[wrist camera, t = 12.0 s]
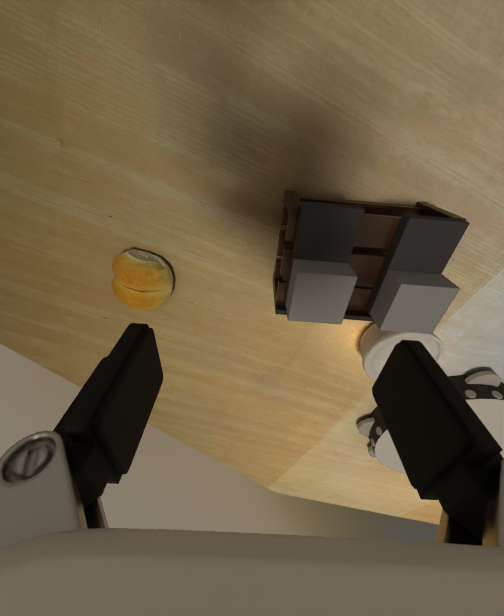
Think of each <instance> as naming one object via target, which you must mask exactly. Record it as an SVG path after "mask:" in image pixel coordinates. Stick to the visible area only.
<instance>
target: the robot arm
mask: <svg viewBox="0 0 504 616" xmlns="http://www.w3.org/2000/svg"><path fill="white" fill-rule="evenodd" d="M162 381H163V372H162V367H161V363H160V358H159V354H158V349H157V345H156V340H155V335H154V331H153V329H152V328H149V326H148V325H147V324H138V323H131V324H129V326H128V327H127V329H126V330H125V332H124V333H123V335H122V336H121V338H120V339H119V341H118V342H117V344H116V345H115V347H114V348H113V350H112V351H111V353H110V354H109V356H108V357H105V358H103V359H102V360H101V361H100V363H99V364H98V366H97V367H96V369H95V370H94V372H93V373H92V374H91V376H90V377H89V379H88V380H87V382H86V383H85V385H84V386H83V388H82V389H81V391H80V392H79V394H78V395H77V397H76V398H75V399H74V401H73V402H72V404H71V405H70V407H69V408H68V410H67V411H66V413H65V414H64V416H63V417H62V419H61V420H60V422H59V423H58V424H57V426H56V427H55V429H54V430H53V432H52V431H42V432H37V433H34V434H31V435H29V436H27V437H25V438H23V439H22V440H20V441H18V442H17V443H15V444H14V445H13V446H12V447H11V448H9V449H8V450H7V451H6V452H5V454H4V455H3V456H2V457H1V458H0V616H504V458H503V456H502V455H501V454H500V452H501V451H502V450H503V449H502V448H501V446H500V445H499V444H498V443H497V441H496V440H495V439H494V437H493V436H492V435H491V433H490V432H489V431H488V429H487V428H486V427H485V425H484V424H483V423H482V421H481V420H480V419H479V417H478V416H477V415H476V413H475V412H474V411H473V410H472V408H471V407H470V406H469V404H468V403H467V402H466V400H465V399H464V398H463V396H462V395H461V394H460V392H459V391H458V390H457V388H456V387H455V386H454V384H453V383H452V382H451V380H450V379H449V378H448V377H447V375H446V374H445V373H444V371H443V370H442V369H441V367H440V366H439V365H438V363H437V362H436V361H435V359H434V358H433V357H432V355H431V354H430V353H429V351H428V350H427V349H426V347H425V346H424V345H423V344H422V343H421V342H420V341H416V340H401V341H400V342H399V343H397V344H396V345H395V346H394V348H393V350H392V352H391V354H390V355H389V357H388V359H387V361H386V363H385V365H384V367H383V369H382V370H381V372H380V374H379V376H378V378H377V380H376V382H375V383H374V385H373V388H372V393H373V396H374V399H375V401H376V403H377V406H378V408H379V411H380V413H381V415H382V418H383V420H384V422H385V425H386V427H387V429H388V432H389V434H390V436H391V439H392V441H393V443H394V446H395V448H396V450H397V453H398V455H399V458H400V460H401V462H402V465H403V467H404V469H405V472H406V474H407V476H408V479H409V481H410V483H411V485H412V486H413V487H414V488H415V489H417V491H418V493H419V496H420V498H421V499H427V500H438V499H439V502H440V504H441V506H442V508H443V509H442V514H441V519H440V524H439V529H438V535H437V539H436V542H417V541H416V542H415V541H398V540H380V539H360V538H340V537H321V536H319V537H318V536H299V535H279V534H259V533H236V532H213V531H190V530H167V529H128V528H127V529H125V528H109V527H108V524H107V520H106V517H105V512H104V509H103V505H102V502H101V498H100V496H101V495H102V493H103V491H104V488H105V487H106V484H107V483H116V484H118V483H119V481H120V479H121V476H122V474H126V473H127V472H128V470H129V468H130V466H131V463H132V461H133V458H134V455H135V453H136V450H137V448H138V445H139V442H140V440H141V437H142V434H143V432H144V429H145V427H146V424H147V421H148V419H149V416H150V414H151V411H152V408H153V406H154V403H155V400H156V398H157V395H158V393H159V390H160V387H161V385H162Z"/></svg>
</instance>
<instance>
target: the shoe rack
mask: <svg viewBox="0 0 504 616" xmlns="http://www.w3.org/2000/svg"><path fill="white" fill-rule="evenodd" d="M283 201H284V207H283V214H282V221H281V225H286V226H287V229H286V231H280V236H279V243H278V250H277V256H282V261H279V260H276V265H275V272H274V274H273V290H274V301H275V313H276V314H283V315H287V311H286V306H285V300H284V298H285V292H286V287H287V281H288V275H289V269H290V264H291V258H292V252H293V247H294V241H295V235H296V229H297V224H298V218H299V212H300V206H301V202H302V201H307V202H319V203H331V204H343V205H354V206H361V207H362V208H363V209H365V212H364V215H363V218H362V221H361V224H360V228H359V231H358V234H357V237H356V240H355V243H354V247H353V250H352V253H351V256H350V259H349V262H348V263H349V265H350V266H351V268H352V269H353V271H354V272H355V274H356V275H357V277H358V278H357V280H356V283H355V286H354V289H353V292H352V295H351V297H350V300H349V303H348V306H347V309H346V312H345V315H344V317H343V319H350V320H364V321H374V320H373V318H372V317H371V315H369V314H368V313H367V311H366V309H365V307H366V304H367V302H368V299H369V297H370V294H371V292H372V289H373V287H374V284H375V282H376V279H377V277H378V274H379V272H380V269H381V267H382V264H383V262H384V259H385V257H386V254H387V252H388V249H389V247H390V244H391V242H392V239H393V237H394V234H395V232H396V229H397V227H398V224H399V222H400V220H401V217H402V215H403V214H410V215H422V216H434V217H446V218H458V219H462V220H464V221H466V219H465V218H462V217H460V216H458V215H455V214H453V213H450V212H448V211H446V210H443V209H441V208H438V207H436V206H434V205H431V204H429V203H426V202H417V204H416V206H415V207H411V206H399V205H387V204H375V203H364V202H352V201H340V200H328V199H316V198H304V197H298V196H297V194H296V193H295V191H285V193H284V200H283Z"/></svg>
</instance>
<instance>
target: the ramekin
mask: <svg viewBox="0 0 504 616" xmlns="http://www.w3.org/2000/svg"><path fill="white" fill-rule="evenodd" d="M401 340H416V341H420V342H421V343H422V344H423V345H424V346H425V347H426V349H427V350H428V351H429V353H430V354H431V355H432V357H433V358H434V359H435V361H436V362H437V363H439V361H440V360H441V358H442V355H443V345H442V343H441V341H440V340H439V338H438V337H437V336H436V335H434V334H433V333H432V334H423V333H410V332H396V331H383V330H379V328H378V327H377V325H376V323H374V324H373V325H371V326H370V327H369V328H368V329H367V330H366V331H365V333H364V334H363V336H362V338H361V340H360V350H361V355H362V363H363V367H364V370H365V372H366V373H367V375H368V376H369V377H370V378H372V379H373V380H375V381H376V380H377V378H378V376H379V374H380V372H381V370H382V369H383V367H384V365H385V363H386V361H387V359H388V357H389V355H390V354H391V352H392V350H393V348H394V346H395V345H396V344H397V343H399V342H400V341H401Z"/></svg>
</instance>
